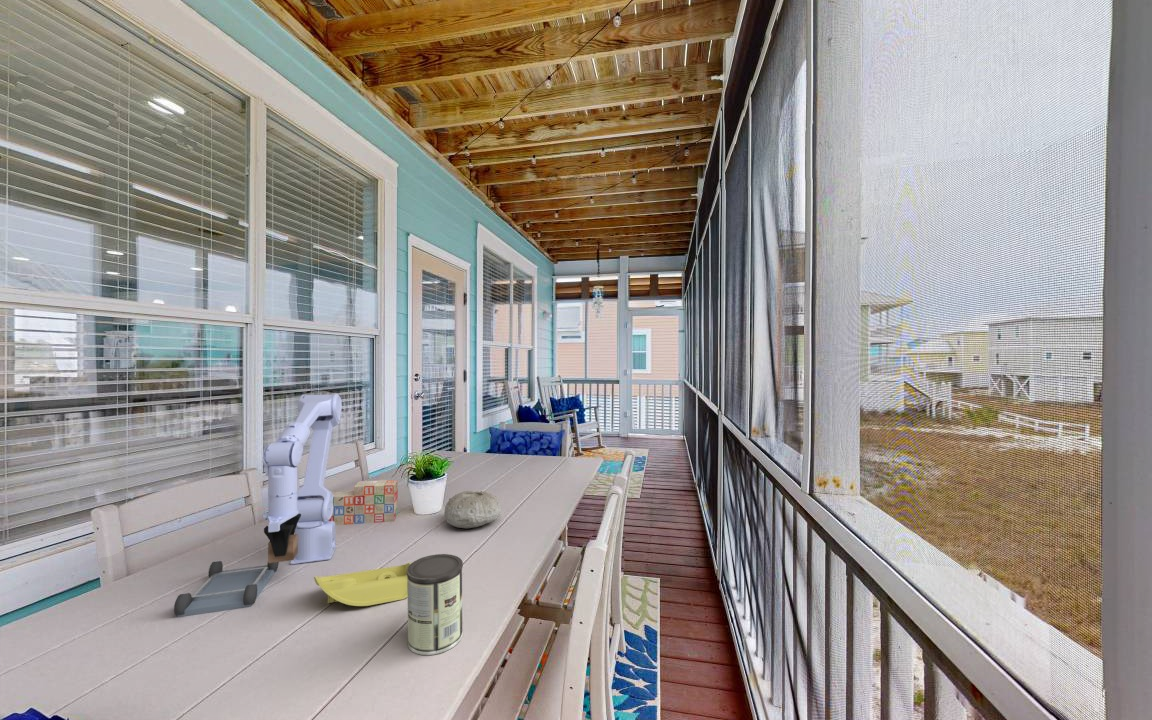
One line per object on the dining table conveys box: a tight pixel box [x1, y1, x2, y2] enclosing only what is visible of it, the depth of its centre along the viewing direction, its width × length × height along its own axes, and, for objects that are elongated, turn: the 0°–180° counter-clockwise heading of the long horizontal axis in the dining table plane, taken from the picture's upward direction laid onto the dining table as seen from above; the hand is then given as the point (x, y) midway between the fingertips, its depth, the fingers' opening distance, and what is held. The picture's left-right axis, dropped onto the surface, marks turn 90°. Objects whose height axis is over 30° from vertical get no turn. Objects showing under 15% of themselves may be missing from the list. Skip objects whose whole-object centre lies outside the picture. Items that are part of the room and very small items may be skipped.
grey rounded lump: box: [443, 490, 502, 529], centre depth 145 cm, size 18×18×10 cm
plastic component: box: [313, 562, 412, 607], centre depth 102 cm, size 20×7×10 cm
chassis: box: [173, 560, 280, 618], centre depth 104 cm, size 13×20×4 cm
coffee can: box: [407, 553, 464, 656], centre depth 86 cm, size 10×10×14 cm
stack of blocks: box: [328, 479, 399, 526], centre depth 148 cm, size 21×6×12 cm, turn 101°
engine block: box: [267, 533, 298, 564], centre depth 105 cm, size 5×4×4 cm
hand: (283, 551), depth 105 cm, fingers closed on engine block, 4 cm apart
